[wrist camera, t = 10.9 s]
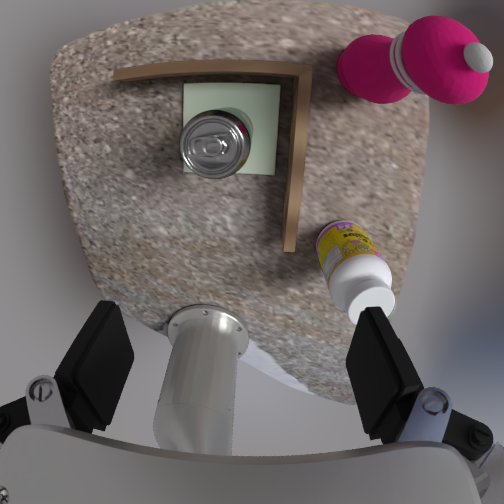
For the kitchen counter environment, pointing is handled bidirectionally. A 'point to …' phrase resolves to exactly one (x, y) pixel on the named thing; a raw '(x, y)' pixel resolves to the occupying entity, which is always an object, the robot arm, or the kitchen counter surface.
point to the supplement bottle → (354, 269)
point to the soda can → (216, 142)
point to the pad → (250, 102)
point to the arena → (298, 117)
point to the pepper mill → (417, 63)
